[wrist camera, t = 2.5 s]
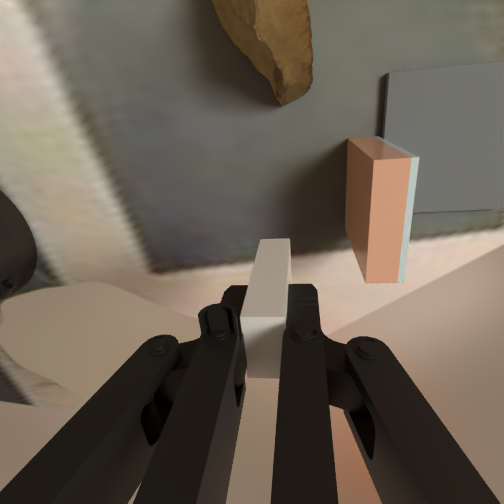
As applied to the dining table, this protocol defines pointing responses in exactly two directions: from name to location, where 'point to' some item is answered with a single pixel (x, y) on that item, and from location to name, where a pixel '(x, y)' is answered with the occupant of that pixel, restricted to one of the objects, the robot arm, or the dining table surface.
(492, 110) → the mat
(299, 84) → the rock
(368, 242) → the tile
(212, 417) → the robot arm
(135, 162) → the dining table surface
